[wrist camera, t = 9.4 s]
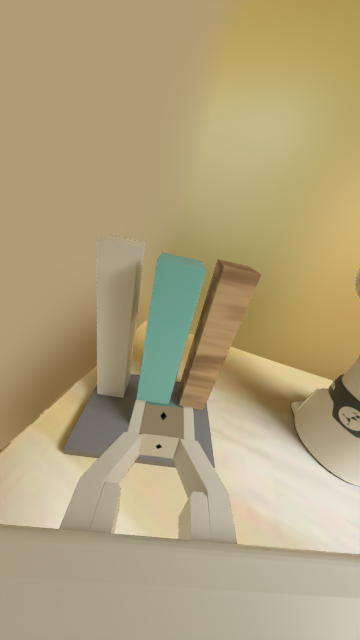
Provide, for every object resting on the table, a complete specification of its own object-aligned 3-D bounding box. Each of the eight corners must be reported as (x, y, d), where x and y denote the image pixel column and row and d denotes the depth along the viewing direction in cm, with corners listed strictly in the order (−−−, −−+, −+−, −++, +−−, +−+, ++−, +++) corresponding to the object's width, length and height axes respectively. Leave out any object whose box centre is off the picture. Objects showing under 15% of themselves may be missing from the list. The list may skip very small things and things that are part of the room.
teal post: (161, 430, 31) (206, 270, 18) (132, 426, 31) (157, 259, 18) (164, 404, 36) (201, 261, 23) (138, 400, 35) (162, 252, 22)
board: (211, 471, 29) (214, 467, 28) (64, 453, 27) (63, 448, 26) (202, 390, 43) (204, 386, 43) (104, 374, 41) (104, 369, 41)
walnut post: (203, 410, 37) (261, 274, 24) (178, 406, 36) (224, 266, 23) (200, 389, 41) (248, 266, 28) (179, 386, 41) (217, 259, 28)
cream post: (123, 397, 35) (138, 246, 22) (97, 393, 35) (96, 237, 22) (130, 378, 40) (145, 242, 27) (106, 374, 39) (111, 234, 26)
